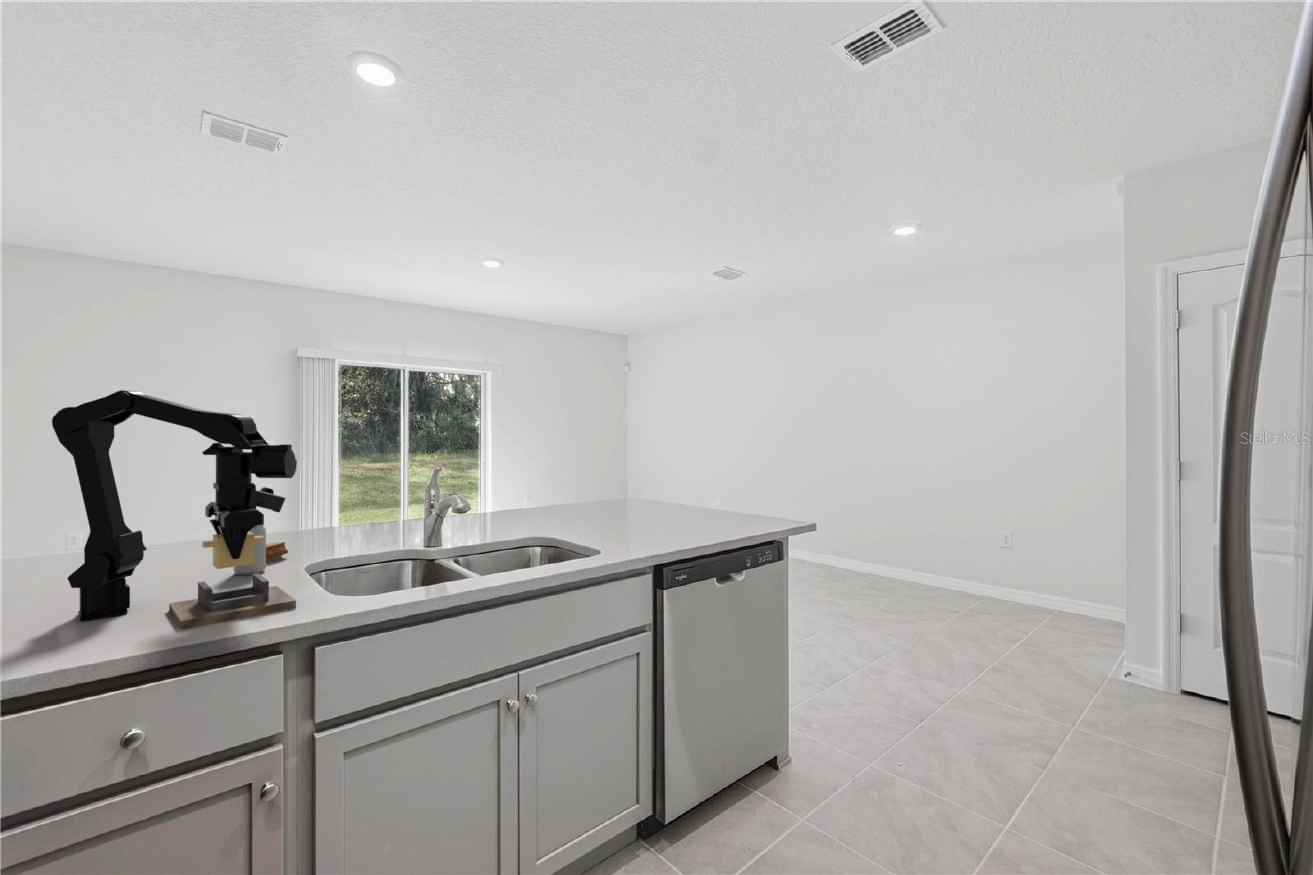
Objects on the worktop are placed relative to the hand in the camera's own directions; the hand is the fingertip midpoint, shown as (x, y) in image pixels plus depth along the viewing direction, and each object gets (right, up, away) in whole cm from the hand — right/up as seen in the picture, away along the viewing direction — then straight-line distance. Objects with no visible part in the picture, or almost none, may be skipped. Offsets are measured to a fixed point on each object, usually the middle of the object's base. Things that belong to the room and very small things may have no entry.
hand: (233, 556), depth 115 cm
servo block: (0, -2, 0) cm, 2 cm away
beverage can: (-16, -10, +27) cm, 33 cm away
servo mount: (0, -10, 0) cm, 10 cm away
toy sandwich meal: (-23, -10, +40) cm, 47 cm away
